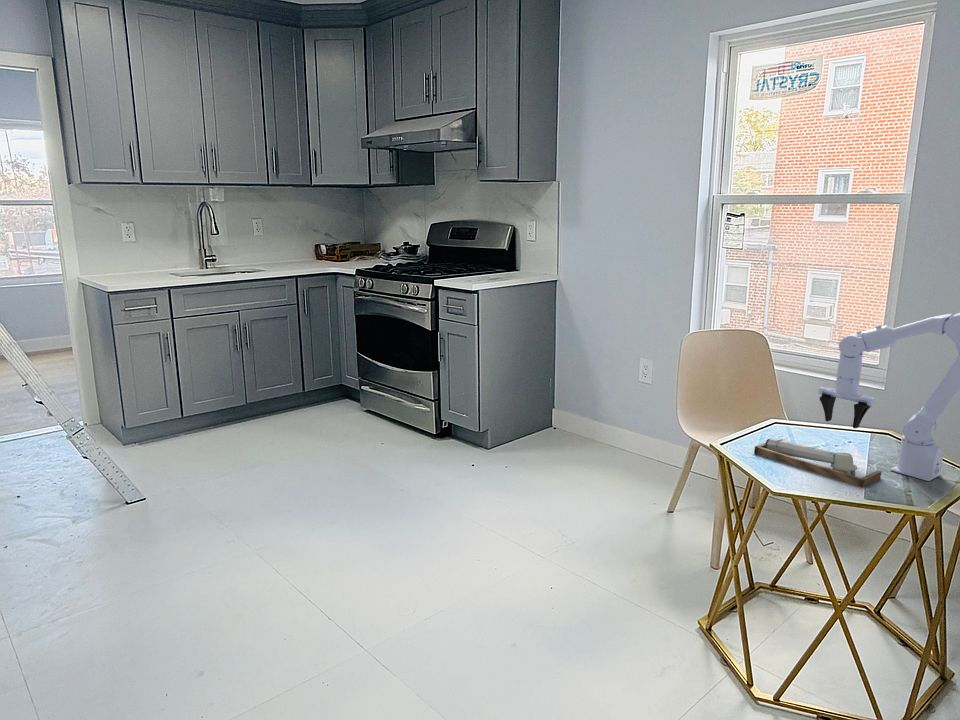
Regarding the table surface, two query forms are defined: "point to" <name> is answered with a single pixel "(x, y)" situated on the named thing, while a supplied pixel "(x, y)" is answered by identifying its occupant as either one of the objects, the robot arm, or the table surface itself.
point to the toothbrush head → (814, 455)
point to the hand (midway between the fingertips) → (841, 424)
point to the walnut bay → (818, 467)
